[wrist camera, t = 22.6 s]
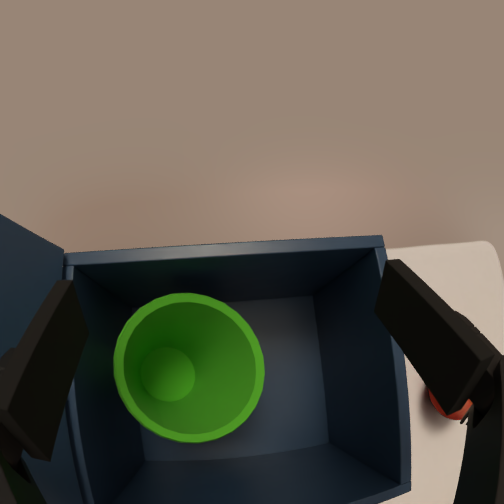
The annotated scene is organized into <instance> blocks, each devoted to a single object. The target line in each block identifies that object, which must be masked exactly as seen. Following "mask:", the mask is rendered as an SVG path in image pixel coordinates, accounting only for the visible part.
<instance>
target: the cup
mask: <svg viewBox="0 0 504 504" xmlns="http://www.w3.org/2000/svg"><path fill="white" fill-rule="evenodd" d="M113 363H114V378H115V382H116V386H117V389H118V392H119V395H120V397H121V399H122V401H123V402H124V404H125V406H126V407H127V409H128V411H129V412H130V413H131V414H132V415H133V416H134V418H135V419H136V420H137V421H138V422H139V423H140V424H141V425H142V426H144V427H145V428H147V429H148V430H150V431H152V432H153V433H155V434H157V435H158V436H160V437H163V438H166V439H169V440H172V441H175V442H179V443H196V444H198V443H204V442H209V441H214V440H217V439H219V438H221V437H224V436H226V435H228V434H230V433H232V432H233V431H234V430H236V429H237V428H238V427H239V426H240V425H242V424H243V423H244V422H245V421H246V420H247V419H248V417H249V416H250V415H251V413H252V412H253V410H254V409H255V408H256V406H257V403H258V401H259V398H260V396H261V393H262V390H263V383H264V376H265V370H264V359H263V354H262V351H261V348H260V345H259V342H258V339H257V338H256V336H255V334H254V333H253V331H252V329H251V327H250V326H249V324H248V323H247V322H246V321H245V320H244V319H243V318H242V317H241V316H240V315H239V314H238V313H237V312H236V311H235V310H233V309H232V308H230V307H229V306H227V305H226V304H225V303H223V302H221V301H218V300H216V299H214V298H211V297H209V296H206V295H200V294H194V293H176V294H169V295H166V296H163V297H160V298H156V299H154V300H152V301H151V302H149V303H147V304H146V305H144V306H143V307H141V308H139V309H138V310H137V312H136V313H135V314H134V315H133V316H132V317H131V318H130V319H129V320H128V321H127V322H126V324H125V326H124V328H123V330H122V331H121V333H120V335H119V337H118V340H117V344H116V348H115V352H114V356H113Z"/></svg>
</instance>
